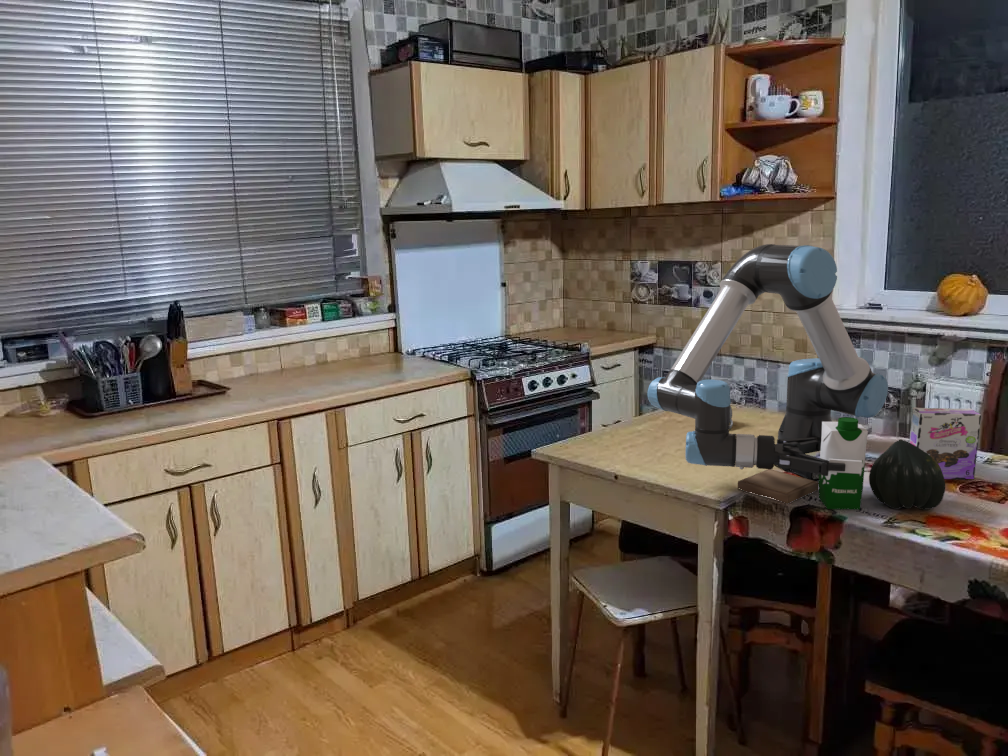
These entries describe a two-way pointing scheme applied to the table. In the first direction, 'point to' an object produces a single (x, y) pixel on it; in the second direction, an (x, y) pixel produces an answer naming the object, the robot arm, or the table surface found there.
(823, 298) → the robot arm
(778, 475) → the board
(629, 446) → the table surface
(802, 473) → the electric trimmer
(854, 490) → the milk carton
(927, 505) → the squash
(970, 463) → the candy box
